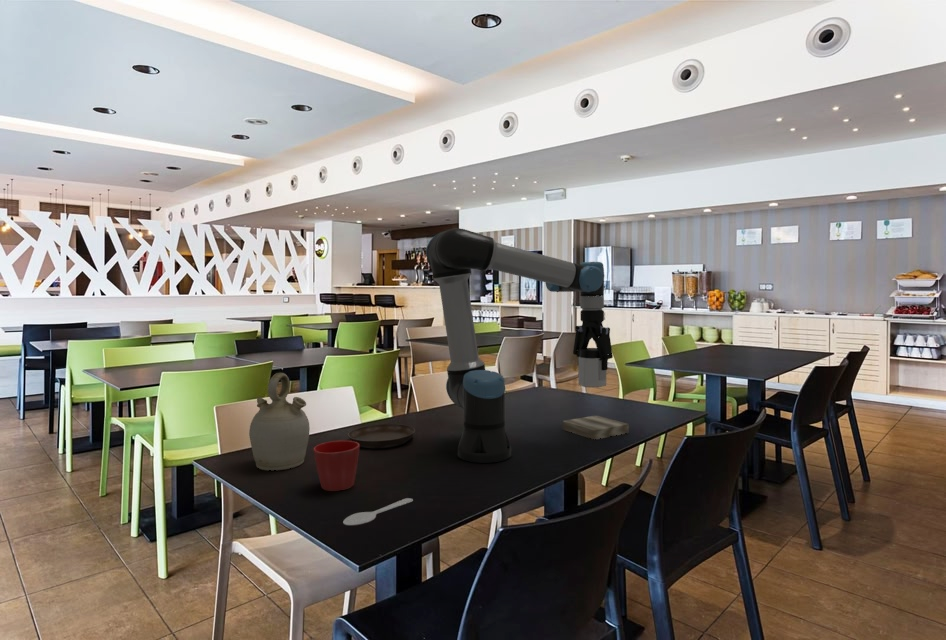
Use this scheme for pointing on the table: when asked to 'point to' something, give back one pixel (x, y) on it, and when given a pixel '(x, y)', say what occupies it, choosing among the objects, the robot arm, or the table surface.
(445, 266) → the robot arm
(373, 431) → the plant saucer
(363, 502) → the table surface
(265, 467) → the jug
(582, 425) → the base board
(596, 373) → the jar
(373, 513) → the spoon
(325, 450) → the flower pot
